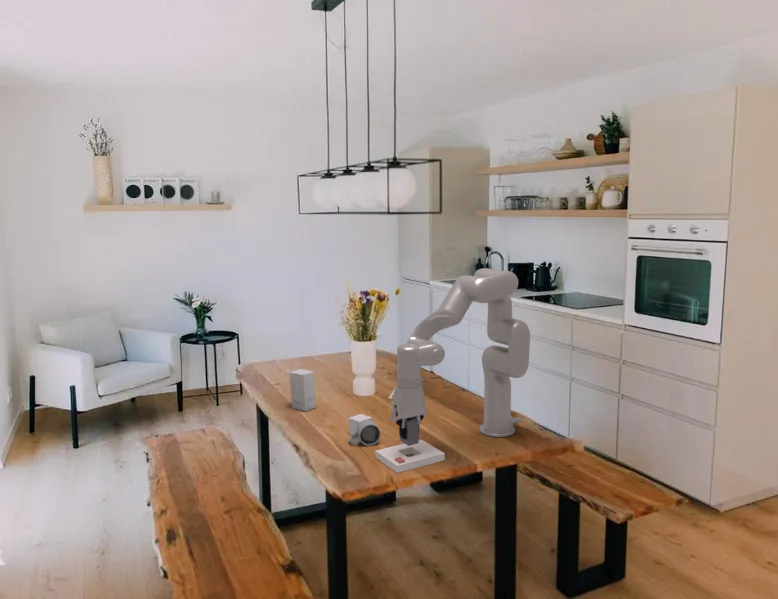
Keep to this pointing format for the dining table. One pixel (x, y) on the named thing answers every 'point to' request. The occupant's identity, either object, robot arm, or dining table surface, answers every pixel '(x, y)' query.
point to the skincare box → (303, 389)
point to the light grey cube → (356, 422)
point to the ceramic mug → (366, 433)
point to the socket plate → (400, 462)
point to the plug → (411, 431)
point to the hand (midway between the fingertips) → (409, 436)
